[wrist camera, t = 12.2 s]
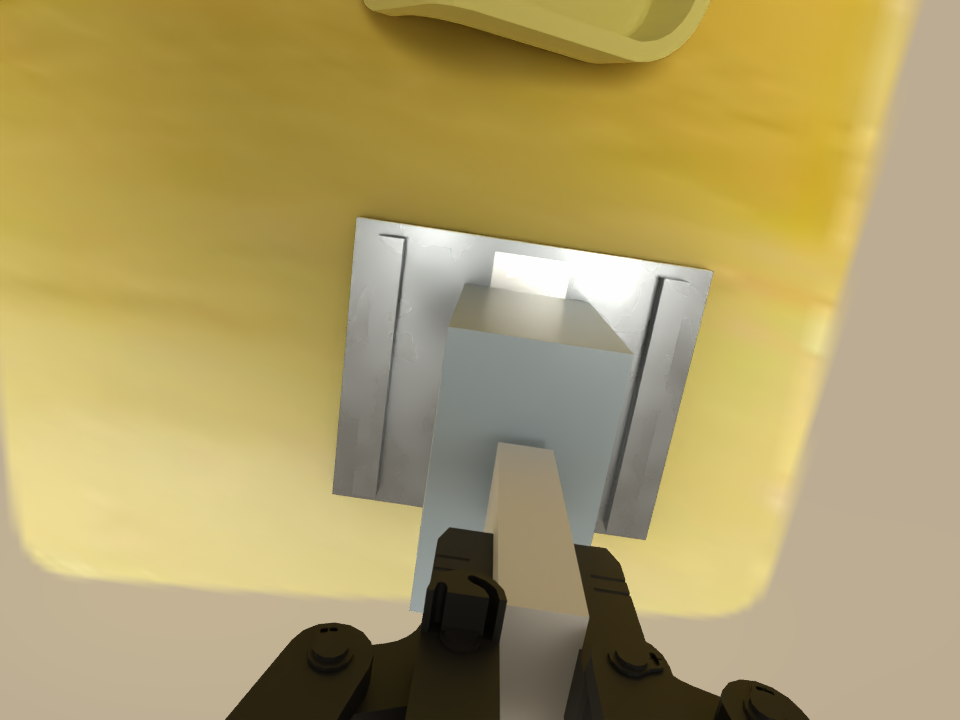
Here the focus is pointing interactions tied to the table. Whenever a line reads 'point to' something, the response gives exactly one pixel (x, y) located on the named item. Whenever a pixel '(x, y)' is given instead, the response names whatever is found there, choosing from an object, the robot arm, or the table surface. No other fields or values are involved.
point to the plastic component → (571, 24)
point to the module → (520, 408)
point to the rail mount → (422, 340)
